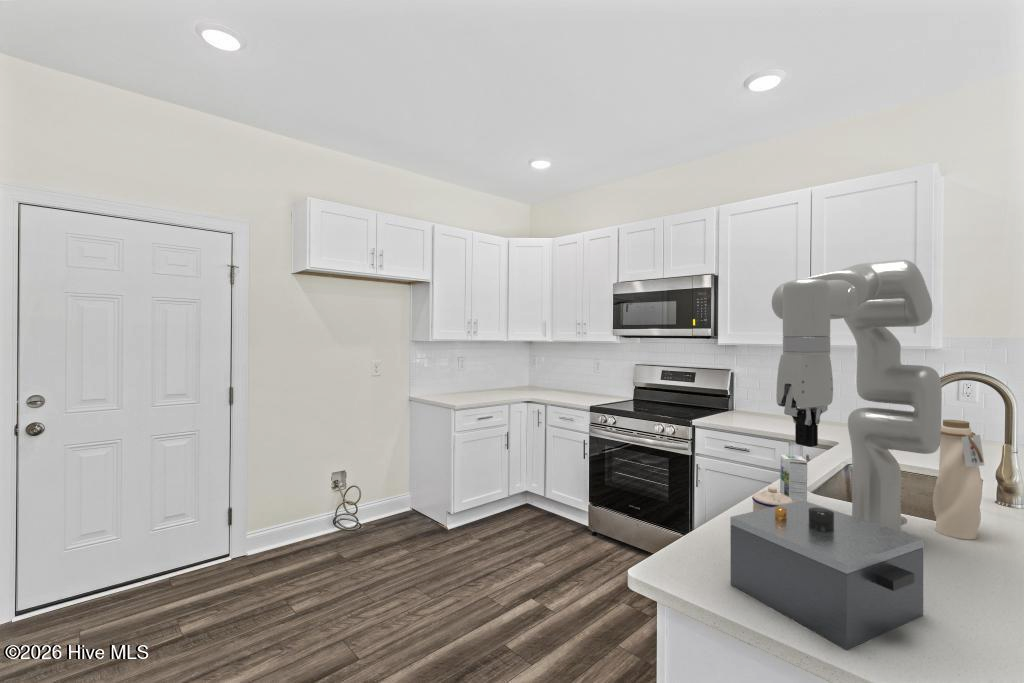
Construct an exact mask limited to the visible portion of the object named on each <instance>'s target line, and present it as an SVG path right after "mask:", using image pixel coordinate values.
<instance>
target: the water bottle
mask: <svg viewBox="0 0 1024 683" xmlns="http://www.w3.org/2000/svg"><path fill="white" fill-rule="evenodd" d="M938 465H939V466H938V475H937V477H936V481H935V486H934V490H933V495H932V496H933V497H932V508H933V512H934V516H935V519H936V521H935V526H934V530H935V531H936V532H937V533H939V534H941V535H944V536H946V537H951V538H954V539H960V540H976V539H977V538H978V532H979V529H980V525H981V519H982V516H981V515H982V512H981V504H982V498H983V484H982V477H981V471H980V466H981V467H982V466H985V459H984V453H983V446H982V440H981V435H980V434H976V433H975V432H973V431H972V428H971V427H970V421H966V420H960V419H959V420H958V419H943V420H942V424H941V441H940V446H939V463H938Z"/></svg>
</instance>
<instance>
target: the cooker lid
mask: <svg viewBox="0 0 1024 683" xmlns="http://www.w3.org/2000/svg"><path fill="white" fill-rule="evenodd" d="M729 520H730V525H733V526H736V527H738V528H740V529H743V530H745V531H747V532H750V533H752V534H754V535H757V536H759V537H761V538H764V539H766V540H768V541H771V542H773V543H775V544H778V545H780V546H782V547H785V548H787V549H789V550H792V551H794V552H797V553H799V554H801V555H804V556H806V557H808V558H811V559H813V560H815V561H818V562H820V563H822V564H825V565H827V566H829V567H832V568H834V569H836V570H839V571H841V572H843V573H846V574H848V573H851V572H854V571H857V570H860V569H863V568H865V567H868V566H871V565H874V564H877V563H880V562H883V561H886V560H888V559H891V558H894V557H897V556H900V555H903V554H906V553H909V552H912V551H914V550H917V549H920V548H923V549H924V538H923V537H919V536H916V535H912V534H910V533H907V532H903V531H901V532H900V531H897V530H894V529H891V528H888V527H885V526H881V525H878V524H875V523H872V522H869V521H866V520H863V519H859V518H856V517H853V516H852V515H850V514H846V513H843V512H841V511H837V510H834V509H832V508H828V507H825V506H822V505H818V504H816V503H814V502H813V503H812V502H809V501H807V502H806V501H803V500H802V501H798V502H793V503H789V504H785V505H780V506H776V507H771V508H767V509H763V510H758V511H754V512H753V511H750V512H746V513H742V514H737V515H733V516H730V519H729Z"/></svg>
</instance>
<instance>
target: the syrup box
mask: <svg viewBox="0 0 1024 683" xmlns="http://www.w3.org/2000/svg"><path fill="white" fill-rule="evenodd" d="M779 483H780V484H779V492H780V493H781V494H783V495H785V496H788V497H789V498H791V499H792V501H793V502H798V501H802V500H803V501H806V502H808V459H807V460H806V459H805V458H804V457H803V456H801V455H795V454H780V480H779Z"/></svg>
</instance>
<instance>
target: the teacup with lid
mask: <svg viewBox="0 0 1024 683" xmlns="http://www.w3.org/2000/svg"><path fill="white" fill-rule="evenodd" d="M751 499H752V504H753V505H752V510H753V511H752V512H754V511H758V510H763V509H767V508H771V507H776V506H780V505H785V504H789V503H793V501H792V499H791V498H789V497H788V496H785V495H783V494H781V493H780V491H778V489H777V488H776V487H774V486H769V487H768V488H767V490H763V491H760V492H759V491H758V492H755V493H753V495H752V498H751Z"/></svg>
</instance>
